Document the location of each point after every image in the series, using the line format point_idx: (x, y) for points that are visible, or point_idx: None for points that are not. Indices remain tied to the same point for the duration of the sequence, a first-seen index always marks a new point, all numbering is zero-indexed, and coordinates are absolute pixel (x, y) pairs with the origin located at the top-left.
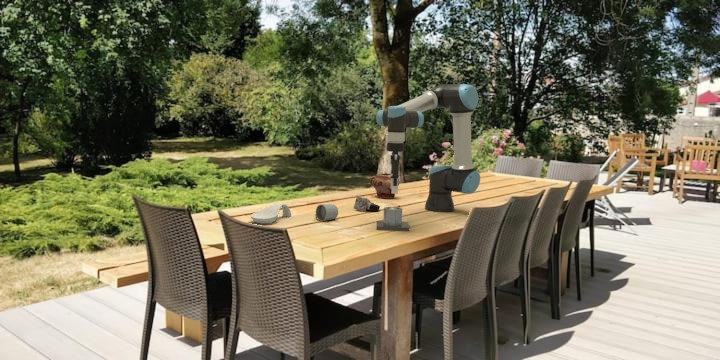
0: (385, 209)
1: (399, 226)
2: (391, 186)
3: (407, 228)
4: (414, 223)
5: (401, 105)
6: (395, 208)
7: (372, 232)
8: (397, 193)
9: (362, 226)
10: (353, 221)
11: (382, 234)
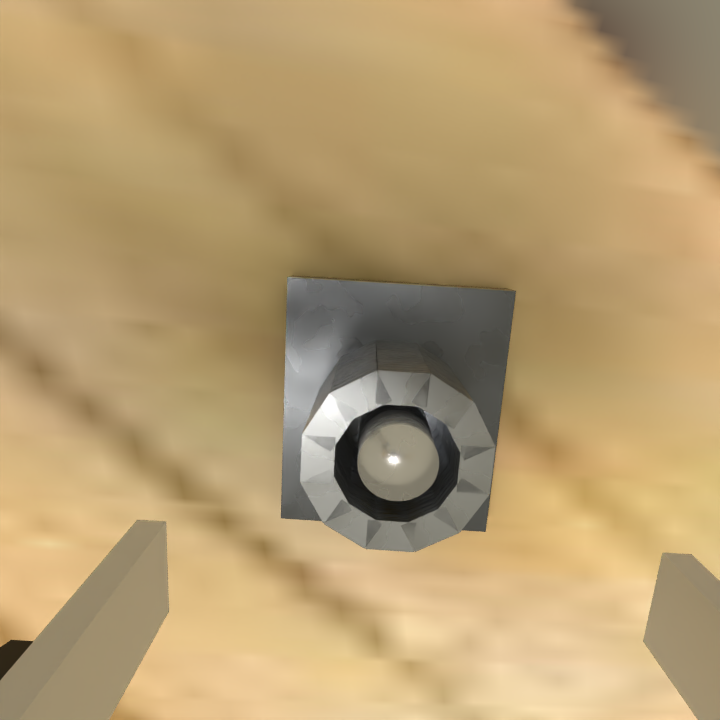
0: (441, 537)
1: (476, 366)
2: (152, 627)
3: (511, 305)
4: (208, 207)
5: None
6: (400, 441)
7: (559, 547)
8: (691, 561)
9: (375, 598)
10: (219, 645)
11: (620, 489)
